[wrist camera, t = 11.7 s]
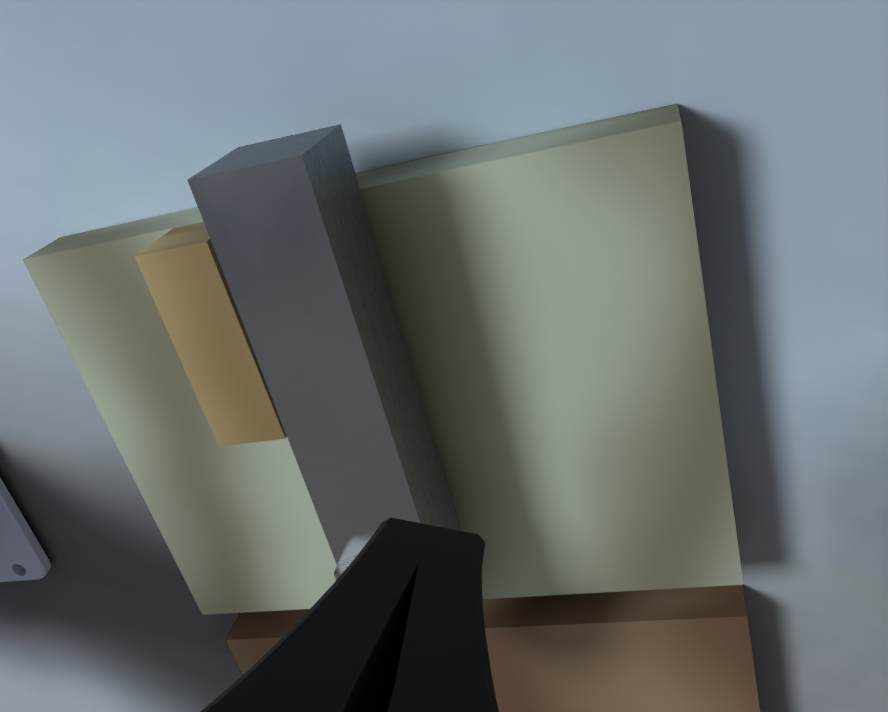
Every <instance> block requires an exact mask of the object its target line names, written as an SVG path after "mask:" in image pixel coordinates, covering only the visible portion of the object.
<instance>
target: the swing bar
mask: <svg viewBox="0 0 888 712" xmlns="http://www.w3.org/2000/svg"><path fill="white" fill-rule="evenodd" d="M188 183H189V185H190V188H191V190H192V193H193V195H194V198H195V201H196V203H197V206H198V208H199V211H200V214H201V216H202V219H203V221H204V224H205V226H206V229H207V232H208V234H209V237H210V239H211V242H212V244H213V247H214V250H215V252H216V255H217V257H218V260H219V263H220V265H221V268H222V270H223V273H224V275H225V278H226V281H227V283H228V286H229V288H230V291H231V293H232V296H233V299H234V301H235V304H236V306H237V309H238V312H239V314H240V317H241V319H242V322H243V324H244V327H245V330H246V332H247V335H248V337H249V340H250V343H251V345H252V348H253V350H254V353H255V355H256V358H257V361H258V363H259V366H260V368H261V371H262V373H263V376H264V379H265V381H266V384H267V386H268V389H269V392H270V394H271V397H272V399H273V402H274V404H275V407H276V410H277V412H278V415H279V417H280V420H281V422H282V425H283V428H284V430H285V433H286V435H287V438H288V441H289V443H290V446H291V448H292V451H293V453H294V456H295V459H296V461H297V464H298V466H299V469H300V471H301V474H302V477H303V479H304V482H305V484H306V487H307V490H308V492H309V495H310V497H311V500H312V502H313V505H314V508H315V510H316V513H317V515H318V518H319V521H320V523H321V526H322V528H323V531H324V533H325V536H326V539H327V541H328V544H329V546H330V549H331V551H332V554H333V557H334V559H335V562H336V564H337V567H336V569H335V572H334V576H335V579H336V580H337V579H338V578H339V576H340V575H341V574H342V573H343V572H344V571H345V569H346V568H347V567H348V566H349V565H350V564H351V562H352V561H353V560H354V559H355V557H356V556H357V555H358V554H359V552H360V551H361V550H362V549H363V547H364V546H365V545H366V543H367V542H368V541H369V540H370V538H371V537H372V536H373V534H374V533H375V531H376V530H377V529H378V527H379V526H380V524H381V523H382V522H383V521H385V520H387V519H389V518H390V517H391V518H396V519H401V520H407V521H412V522H417V523H422V524H428V525H433V526H438V527H443V528H449V529H454V530H459V531H462V530H461V526H460V523H459V520H458V516H457V513H456V510H455V506H454V503H453V500H452V496H451V493H450V490H449V486H448V483H447V479H446V476H445V473H444V469H443V466H442V463H441V459H440V456H439V453H438V449H437V446H436V443H435V439H434V436H433V432H432V429H431V426H430V422H429V419H428V416H427V412H426V409H425V406H424V402H423V399H422V396H421V392H420V389H419V385H418V382H417V379H416V375H415V372H414V369H413V365H412V362H411V359H410V355H409V352H408V349H407V345H406V342H405V338H404V335H403V332H402V328H401V325H400V322H399V318H398V315H397V312H396V308H395V305H394V302H393V298H392V295H391V291H390V288H389V285H388V281H387V278H386V275H385V271H384V268H383V265H382V261H381V258H380V255H379V251H378V248H377V244H376V241H375V238H374V234H373V231H372V228H371V224H370V221H369V218H368V214H367V211H366V208H365V204H364V201H363V197H362V194H361V191H360V187H359V184H358V181H357V177H356V174H355V171H354V167H353V164H352V161H351V157H350V154H349V150H348V147H347V144H346V140H345V137H344V134H343V130H342V127H341V124H340V125H335V126H331V127H326V128H322V129H318V130H313V131H309V132H304V133H300V134H295V135H291V136H286V137H282V138H277V139H273V140H268V141H264V142H260V143H255V144H251V145H246V146H242V147H238V148H236V149H235V150H233V151H232V152H230V153H229V154H227V155H225V156H224V157H222V158H221V159H219V160H218V161H216V162H214V163H213V164H211V165H210V166H208V167H207V168H205V169H203V170H202V171H200V172H199V173H197V174H196V175H194V176H193V177H191V178H189V179H188Z"/></svg>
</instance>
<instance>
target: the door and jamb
mask: <svg viewBox="0 0 888 712" xmlns="http://www.w3.org/2000/svg"><path fill="white" fill-rule="evenodd" d="M355 174H356V177H357V181H358V184H359V187H360V191H361V194H362V197H363V201H364V204H365V208H366V211H367V214H368V218H369V221H370V224H371V228H372V231H373V234H374V238H375V241H376V244H377V248H378V251H379V255H380V258H381V261H382V265H383V268H384V271H385V275H386V278H387V281H388V285H389V288H390V291H391V295H392V298H393V302H394V305H395V308H396V312H397V315H398V318H399V322H400V325H401V328H402V332H403V335H404V338H405V342H406V345H407V349H408V352H409V355H410V359H411V362H412V365H413V369H414V372H415V375H416V379H417V382H418V385H419V389H420V392H421V396H422V399H423V402H424V406H425V409H426V412H427V416H428V419H429V422H430V426H431V429H432V432H433V436H434V439H435V443H436V446H437V449H438V453H439V456H440V459H441V463H442V466H443V469H444V473H445V476H446V479H447V483H448V486H449V490H450V493H451V496H452V500H453V503H454V506H455V510H456V513H457V516H458V520H459V523H460V526H461V530H462V531H464V532H470V533H475V534H479V535H480V537H481V538H482V539H483V540H484V541H485V550H484V557H483V565H482V598H483V614H484V624H485V633H486V640H487V647H488V653H489V660H490V667H491V674H492V679H493V684H494V690H495V695H496V700H497V705H498V709H499V712H760V706H759V699H758V691H757V684H756V676H755V669H754V661H753V654H752V647H751V639H750V632H749V624H748V617H747V611H746V605H745V598H744V592H743V586H742V585H744V584H743V577H742V569H741V562H740V554H739V547H738V540H737V532H736V525H735V517H734V510H733V502H732V495H731V487H730V480H729V472H728V465H727V457H726V450H725V442H724V435H723V428H722V420H721V413H720V405H719V398H718V390H717V383H716V375H715V368H714V360H713V353H712V345H711V338H710V331H709V323H708V316H707V308H706V301H705V293H704V286H703V278H702V271H701V263H700V256H699V248H698V241H697V233H696V226H695V219H694V211H693V204H692V196H691V189H690V181H689V174H688V166H687V159H686V151H685V144H684V136H683V129H682V121H681V117H680V113H679V108H678V104H673V105H669V106H664V107H660V108H655V109H650V110H646V111H641V112H637V113H632V114H627V115H623V116H618V117H613V118H609V119H604V120H600V121H595V122H590V123H586V124H581V125H577V126H572V127H567V128H563V129H558V130H553V131H549V132H544V133H540V134H535V135H530V136H526V137H521V138H517V139H512V140H507V141H503V142H498V143H493V144H489V145H484V146H480V147H475V148H470V149H466V150H461V151H457V152H452V153H447V154H443V155H438V156H433V157H429V158H424V159H420V160H415V161H410V162H406V163H401V164H397V165H392V166H387V167H383V168H378V169H373V170H369V171H364V172H360V173H355ZM23 261H24V263H25V265H26V267H27V269H28V271H29V273H30V275H31V277H32V279H33V281H34V283H35V285H36V287H37V289H38V291H39V293H40V295H41V297H42V299H43V301H44V303H45V305H46V307H47V309H48V311H49V313H50V315H51V317H52V319H53V320H54V322H55V324H56V326H57V328H58V330H59V332H60V334H61V336H62V338H63V340H64V342H65V344H66V346H67V348H68V350H69V352H70V354H71V356H72V358H73V360H74V362H75V364H76V366H77V368H78V370H79V372H80V374H81V376H82V378H83V380H84V382H85V384H86V386H87V388H88V390H89V392H90V394H91V396H92V398H93V400H94V402H95V404H96V405H97V407H98V409H99V411H100V413H101V415H102V417H103V419H104V421H105V423H106V425H107V427H108V429H109V431H110V433H111V435H112V437H113V439H114V441H115V443H116V445H117V447H118V449H119V451H120V453H121V455H122V457H123V459H124V461H125V463H126V465H127V467H128V469H129V471H130V473H131V475H132V477H133V479H134V481H135V483H136V485H137V487H138V489H139V490H140V492H141V494H142V496H143V498H144V500H145V502H146V504H147V506H148V508H149V510H150V512H151V514H152V516H153V518H154V520H155V522H156V524H157V526H158V528H159V530H160V532H161V534H162V536H163V538H164V540H165V542H166V544H167V546H168V548H169V550H170V552H171V554H172V556H173V558H174V560H175V562H176V564H177V566H178V568H179V570H180V572H181V574H182V575H183V577H184V579H185V581H186V583H187V585H188V587H189V589H190V591H191V593H192V595H193V597H194V599H195V601H196V603H197V605H198V607H199V609H200V611H201V613H202V615H208V614H226V613H240V614H239V616H238V618H237V619H236V621H235V623H234V625H233V627H232V629H231V630H230V632H229V634H228V636H227V638H226V640H225V641H226V643H227V645H228V647H229V649H230V651H231V653H232V655H233V657H234V659H235V661H236V663H237V665H238V667H239V669H240V671H241V673H242V675H244V674H245V673H246V672H247V671H248V670H249V669H250V668H251V667H252V666H253V665H254V664H255V663H257V662H258V661H259V660H260V659H261V658H262V657H263V656H264V655H265V654H266V653H267V652H268V651H269V650H270V649H271V648H272V647H273V646H274V645H275V644H276V643H277V642H278V641H279V640H280V639H281V638H282V637H283V636H284V635H286V634H287V633H288V632H289V631H290V630H291V629H292V628H293V627H294V626H295V625H296V624H297V622H298V621H299V620H300V619H301V618H302V617H303V616H304V615H305V614H306V613H307V612H308V611H309V610H310V609H311V607H312V606H313V605H314V604H315V603H316V602H317V601H318V600H319V599H320V598H321V597H322V596H323V594H324V593H325V592H326V591H327V590H328V589H329V588H330V587H331V586H332V585H333V583H334V582H335V581H336V579H335V576H334V572H335V569H336V567H337V564H336V562H335V559H334V557H333V554H332V551H331V549H330V546H329V544H328V541H327V539H326V536H325V533H324V531H323V528H322V526H321V523H320V521H319V518H318V515H317V513H316V510H315V508H314V505H313V502H312V500H311V497H310V495H309V492H308V490H307V487H306V484H305V482H304V479H303V477H302V474H301V471H300V469H299V466H298V464H297V461H296V459H295V456H294V453H293V451H292V448H291V446H290V443H289V441H288V438H287V435H286V433H285V430H284V428H283V425H282V422H281V420H280V417H279V415H278V412H277V410H276V407H275V404H274V402H273V399H272V397H271V394H270V392H269V389H268V386H267V384H266V381H265V379H264V376H263V373H262V371H261V368H260V366H259V363H258V361H257V358H256V355H255V353H254V350H253V348H252V345H251V343H250V340H249V337H248V335H247V332H246V330H245V327H244V324H243V322H242V319H241V317H240V314H239V312H238V309H237V306H236V304H235V301H234V299H233V296H232V293H231V291H230V288H229V286H228V283H227V281H226V278H225V275H224V273H223V270H222V268H221V265H220V263H219V260H218V257H217V255H216V252H215V250H214V247H213V244H212V242H211V239H210V237H209V234H208V232H207V229H206V226H205V224H204V221H203V219H202V216H201V214H200V211H199V208H193V209H189V210H184V211H180V212H175V213H170V214H166V215H161V216H157V217H152V218H147V219H143V220H138V221H133V222H129V223H124V224H120V225H115V226H110V227H106V228H101V229H97V230H92V231H87V232H83V233H78V234H73V235H69V236H64V237H60V238H58V239H57V240H55V241H53V242H52V243H50V244H48V245H47V246H45V247H43V248H42V249H40V250H38V251H37V252H35V253H33V254H32V255H30V256H28V257H27V258H25V259H23Z"/></svg>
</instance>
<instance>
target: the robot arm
mask: <svg viewBox="0 0 888 712" xmlns="http://www.w3.org/2000/svg"><path fill="white" fill-rule="evenodd" d="M484 550H485V541H484V540H483V539H482V538H481V537H480V535H479V534H475V533H470V532H464V531H459V530H454V529H449V528H443V527H438V526H433V525H428V524H422V523H417V522H412V521H407V520H401V519H396V518H391V517H390V518H389V519H387V520H385V521H383V522H382V523H381V524H380V526H379V527H378V529H377V530H376V531H375V533H374V534H373V536H372V537H371V538H370V540H369V541H368V542H367V543H366V545H365V546H364V547H363V549H362V550H361V551H360V552H359V554H358V555H357V556H356V557H355V559H354V560H353V561H352V562H351V564H350V565H349V566H348V567H347V568H346V569H345V571H344V572H343V573H342V574H341V575H340V576H339V578H338V579H337V580H336V581H335V582H334V583H333V585H332V586H331V587H330V588H329V589H328V590H327V591H326V592H325V593H324V594H323V596H322V597H321V598H320V599H319V600H318V601H317V602H316V603H315V604H314V605H313V606H312V607H311V609H310V610H309V611H308V612H307V613H306V614H305V615H304V616H303V617H302V618H301V619H300V620H299V621H298V622H297V624H296V625H295V626H294V627H293V628H292V629H291V630H290V631H289V632H288V633H287V634H286V635H284V636H283V637H282V638H281V639H280V640H279V641H278V642H277V643H276V644H275V645H274V646H273V647H272V648H271V649H270V650H269V651H268V652H267V653H266V654H265V655H264V656H263V657H262V658H261V659H260V660H259V661H258V662H257V663H255V664H254V665H253V666H252V667H251V668H250V669H249V670H248V671H247V672H246V673H245V674H244V675H243V676H241V677H240V678H239V679H238V680H237V681H236V682H235V683H234V684H232V685H231V686H230V687H229V688H228V689H227V690H226V691H225V692H223V693H222V694H221V695H220V696H219V697H218V698H216V699H215V700H214V701H213V702H212V703H210V704H209V705H208V706H207V707H206V708H204V709H203V710H202V711H201V712H499V709H498V705H497V700H496V695H495V690H494V684H493V679H492V674H491V667H490V660H489V653H488V647H487V640H486V633H485V624H484V614H483V598H482V565H483V557H484ZM50 569H51V564H50V561H49V559H48V557H47V556H46V554H45V552H44V551H43V549H42V547H41V546H40V544H39V542H38V540H37V539H36V537H35V535H34V534H33V532H32V530H31V529H30V527H29V525H28V523H27V522H26V520H25V518H24V517H23V515H22V513H21V512H20V510H19V508H18V506H17V505H16V503H15V501H14V500H13V498H12V496H11V495H10V493H9V491H8V489H7V488H6V486H5V484H4V483H3V481H2V479H1V478H0V582H10V581H23V580H37V579H42V578H43V577H44V576H45V575H46V574H47V573H48V572H49V570H50Z"/></svg>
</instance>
